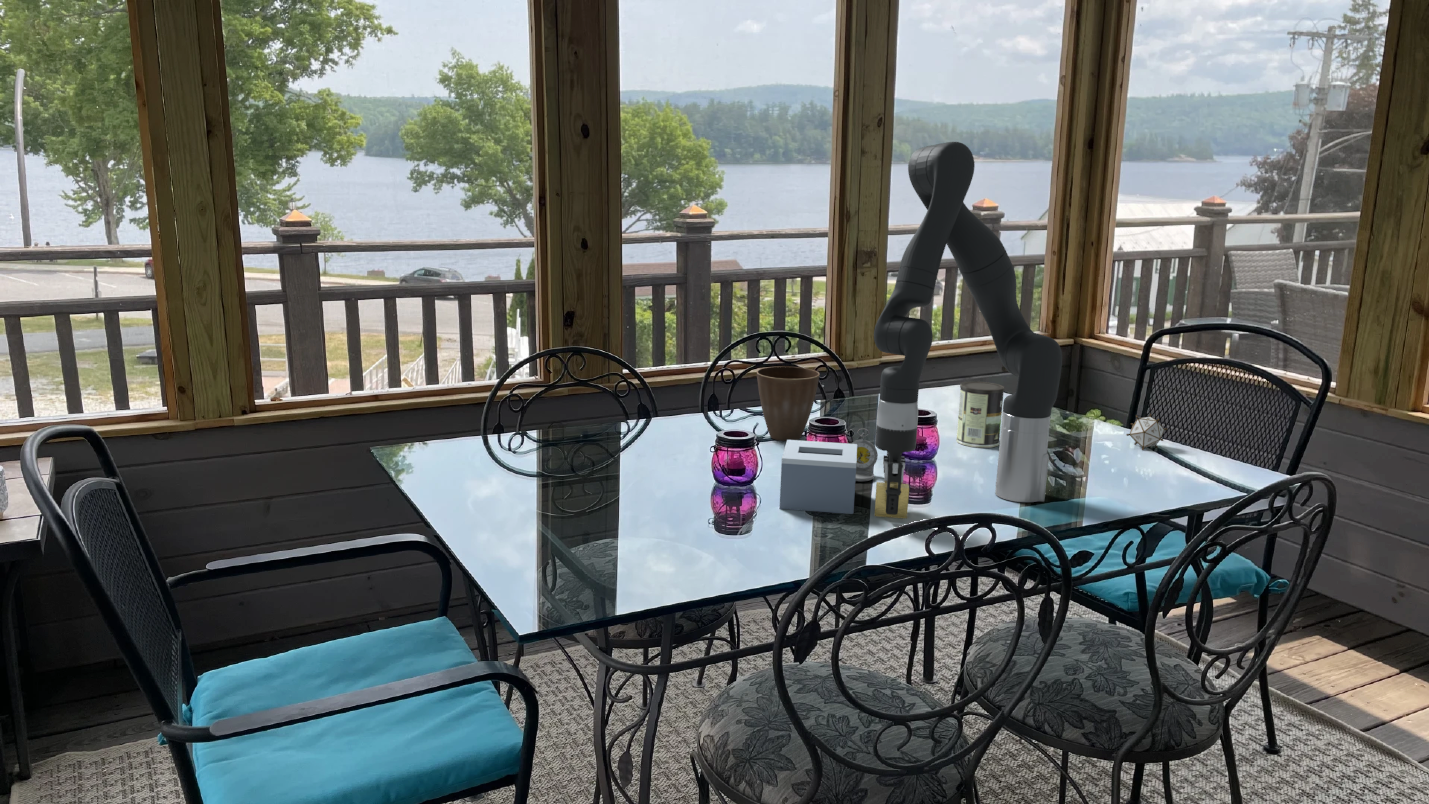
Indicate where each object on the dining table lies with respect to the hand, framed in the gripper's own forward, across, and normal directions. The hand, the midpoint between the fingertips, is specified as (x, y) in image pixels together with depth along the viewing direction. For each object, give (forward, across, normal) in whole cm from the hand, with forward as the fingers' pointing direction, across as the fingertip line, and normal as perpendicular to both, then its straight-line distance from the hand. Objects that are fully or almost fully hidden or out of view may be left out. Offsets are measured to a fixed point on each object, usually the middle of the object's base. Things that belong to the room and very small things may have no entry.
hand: (890, 506), depth 200 cm
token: (+2, 0, 0) cm, 2 cm away
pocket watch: (+2, +24, +6) cm, 25 cm away
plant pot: (+2, +53, +24) cm, 58 cm away
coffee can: (+2, +60, -22) cm, 64 cm away
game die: (+2, +65, -62) cm, 90 cm away
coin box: (+2, +6, +14) cm, 15 cm away
